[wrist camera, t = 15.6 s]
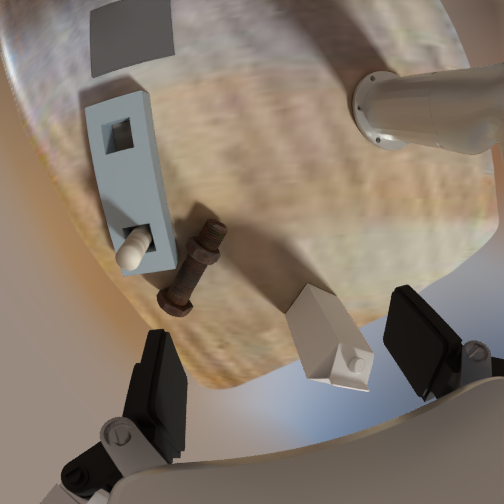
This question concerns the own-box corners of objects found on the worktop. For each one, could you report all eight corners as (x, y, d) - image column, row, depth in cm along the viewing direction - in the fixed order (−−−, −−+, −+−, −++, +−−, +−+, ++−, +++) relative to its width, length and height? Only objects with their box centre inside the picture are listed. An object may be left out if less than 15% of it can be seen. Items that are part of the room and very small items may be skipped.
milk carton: (315, 326, 50) (352, 406, 33) (284, 314, 48) (314, 401, 31) (338, 296, 48) (386, 373, 31) (306, 282, 46) (351, 364, 29)
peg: (153, 217, 39) (135, 244, 30) (158, 237, 40) (142, 268, 31) (134, 221, 38) (112, 248, 29) (139, 240, 40) (119, 272, 31)
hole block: (96, 109, 31) (84, 107, 27) (149, 93, 31) (141, 90, 28) (130, 264, 41) (123, 276, 37) (179, 256, 42) (175, 268, 38)
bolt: (222, 218, 42) (178, 295, 46) (195, 208, 38) (152, 292, 42) (242, 238, 38) (193, 320, 42) (214, 229, 35) (165, 318, 39)
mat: (169, -11, 24) (168, -12, 24) (174, 54, 30) (174, 54, 29) (91, 12, 24) (90, 11, 23) (93, 77, 29) (92, 77, 28)
